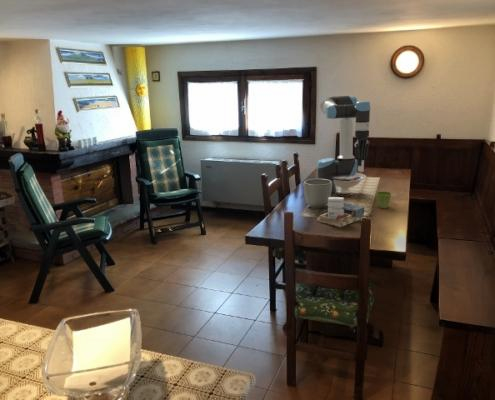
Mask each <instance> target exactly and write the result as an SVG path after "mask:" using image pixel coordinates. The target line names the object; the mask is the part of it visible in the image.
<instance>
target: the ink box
mask: <svg viewBox="0 0 495 400" xmlns="http://www.w3.org/2000/svg"><path fill="white" fill-rule="evenodd" d="M344 203H345V197H339V196H331V197H328V204H327V213H328V217H329V218H333V219H337V220H339V219H341V218H344Z"/></svg>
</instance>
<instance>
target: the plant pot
mask: <svg viewBox="0 0 495 400" xmlns="http://www.w3.org/2000/svg"><path fill="white" fill-rule="evenodd" d="M392 195H393V193H392V192H389V191H376V192H375V196H376V202H377V208H380V209H387V208H389V205H390V200H391V197H392Z"/></svg>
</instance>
